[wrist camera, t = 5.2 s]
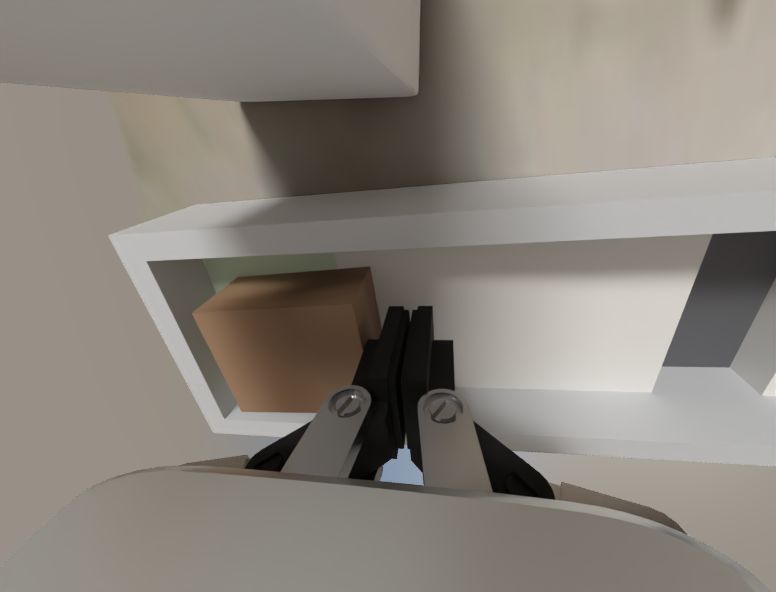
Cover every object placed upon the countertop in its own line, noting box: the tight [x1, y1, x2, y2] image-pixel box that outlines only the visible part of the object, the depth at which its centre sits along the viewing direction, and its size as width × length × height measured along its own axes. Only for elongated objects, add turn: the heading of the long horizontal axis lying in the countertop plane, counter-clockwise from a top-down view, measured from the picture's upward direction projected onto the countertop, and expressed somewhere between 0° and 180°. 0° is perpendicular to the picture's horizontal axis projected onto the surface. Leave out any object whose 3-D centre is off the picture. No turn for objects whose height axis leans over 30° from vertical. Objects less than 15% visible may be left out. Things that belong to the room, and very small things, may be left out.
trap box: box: [108, 157, 776, 466], centre depth 13 cm, size 30×10×4 cm, turn 96°
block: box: [192, 267, 382, 413], centre depth 13 cm, size 6×5×3 cm
